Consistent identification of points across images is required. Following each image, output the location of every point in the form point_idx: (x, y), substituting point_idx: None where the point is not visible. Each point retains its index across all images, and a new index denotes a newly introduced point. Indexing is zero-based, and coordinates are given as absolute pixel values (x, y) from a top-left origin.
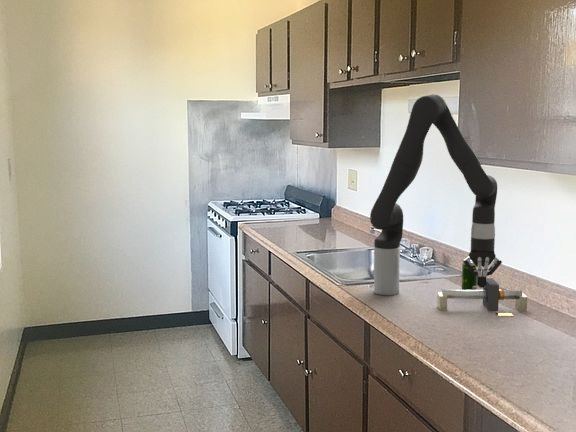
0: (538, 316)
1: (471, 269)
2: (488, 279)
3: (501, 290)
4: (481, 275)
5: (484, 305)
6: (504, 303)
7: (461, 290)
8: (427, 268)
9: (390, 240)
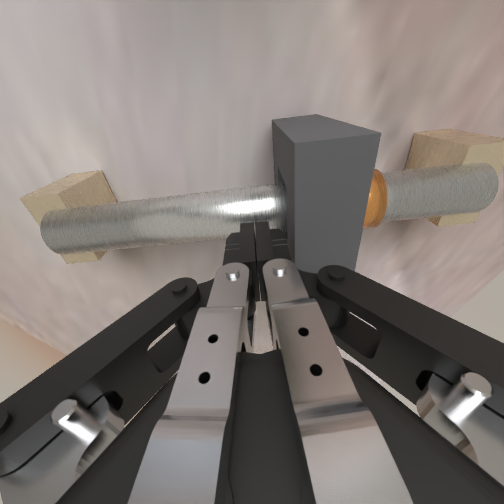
0: (432, 242)
1: (162, 367)
2: (326, 186)
3: (369, 220)
4: (254, 313)
5: (274, 160)
6: (397, 55)
7: (148, 238)
8: None
9: None
